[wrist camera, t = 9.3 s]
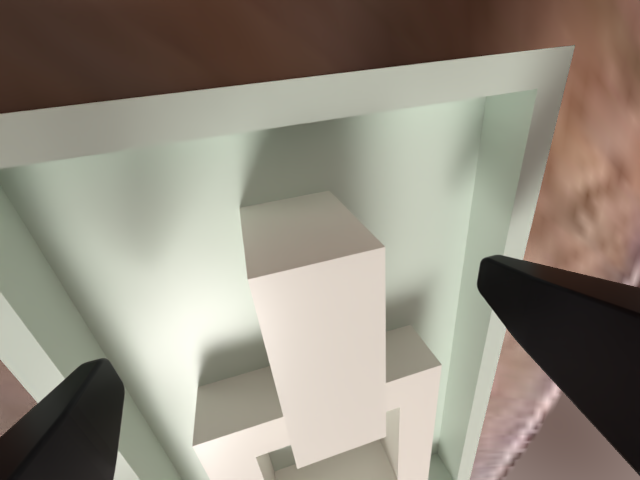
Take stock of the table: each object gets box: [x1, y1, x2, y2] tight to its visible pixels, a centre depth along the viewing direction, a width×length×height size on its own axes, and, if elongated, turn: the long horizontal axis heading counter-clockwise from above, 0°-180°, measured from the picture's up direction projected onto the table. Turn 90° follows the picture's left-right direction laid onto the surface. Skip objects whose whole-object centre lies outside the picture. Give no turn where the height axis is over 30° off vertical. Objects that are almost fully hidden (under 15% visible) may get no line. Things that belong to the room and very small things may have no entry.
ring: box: [192, 191, 442, 480], centre depth 10 cm, size 14×8×4 cm, turn 6°
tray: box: [0, 45, 575, 480], centre depth 11 cm, size 20×14×2 cm
